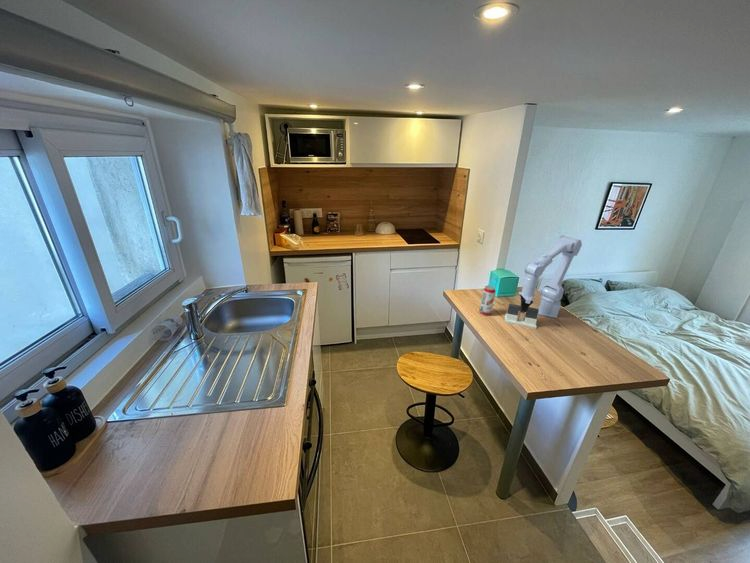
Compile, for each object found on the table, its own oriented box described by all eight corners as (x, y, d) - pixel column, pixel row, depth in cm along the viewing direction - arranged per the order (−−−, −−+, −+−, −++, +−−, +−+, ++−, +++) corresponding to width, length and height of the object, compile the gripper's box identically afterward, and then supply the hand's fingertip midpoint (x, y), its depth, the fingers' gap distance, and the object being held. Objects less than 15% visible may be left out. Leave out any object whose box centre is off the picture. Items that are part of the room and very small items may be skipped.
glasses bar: (535, 316, 152) (538, 308, 149) (536, 319, 149) (538, 311, 147) (507, 311, 156) (509, 303, 154) (507, 313, 154) (509, 305, 152)
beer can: (476, 311, 163) (481, 286, 157) (485, 309, 166) (490, 284, 159) (484, 316, 158) (490, 291, 152) (493, 314, 161) (498, 289, 154)
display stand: (534, 320, 155) (537, 311, 153) (536, 328, 149) (539, 318, 146) (504, 315, 160) (507, 305, 158) (505, 322, 154) (507, 312, 151)
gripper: (520, 279, 153) (514, 301, 159) (521, 290, 141) (515, 314, 146) (534, 281, 151) (528, 304, 156) (537, 293, 138) (530, 317, 144)
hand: (523, 309), depth 151 cm, fingers open, 4 cm apart
